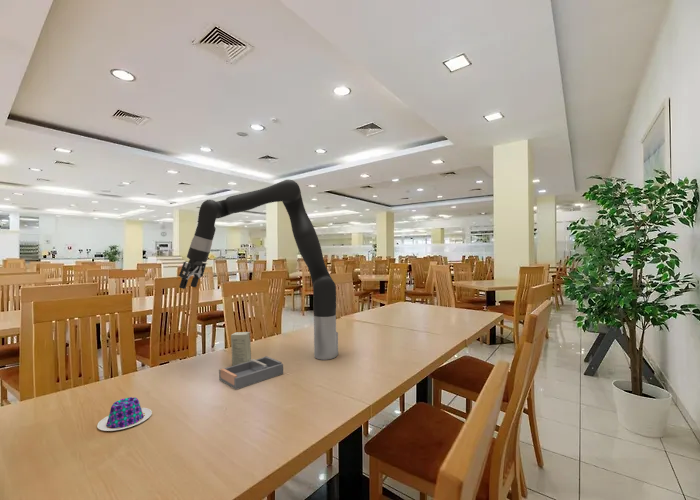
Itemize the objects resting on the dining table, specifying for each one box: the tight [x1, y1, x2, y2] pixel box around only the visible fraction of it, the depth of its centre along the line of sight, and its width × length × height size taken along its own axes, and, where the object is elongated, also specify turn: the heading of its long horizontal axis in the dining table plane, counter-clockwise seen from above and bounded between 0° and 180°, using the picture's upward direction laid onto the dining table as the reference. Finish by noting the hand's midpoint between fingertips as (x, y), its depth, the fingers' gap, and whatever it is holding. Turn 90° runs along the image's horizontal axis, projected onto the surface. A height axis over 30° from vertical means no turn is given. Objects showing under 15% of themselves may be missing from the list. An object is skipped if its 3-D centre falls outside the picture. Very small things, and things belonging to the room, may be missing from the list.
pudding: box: [96, 396, 153, 432], centre depth 87 cm, size 12×12×5 cm
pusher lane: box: [218, 356, 284, 390], centre depth 116 cm, size 18×12×4 cm, turn 136°
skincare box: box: [230, 331, 252, 366], centre depth 129 cm, size 6×4×12 cm
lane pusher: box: [250, 358, 267, 371], centre depth 118 cm, size 1×9×3 cm, turn 46°
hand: (187, 287), depth 132 cm, fingers open, 8 cm apart
